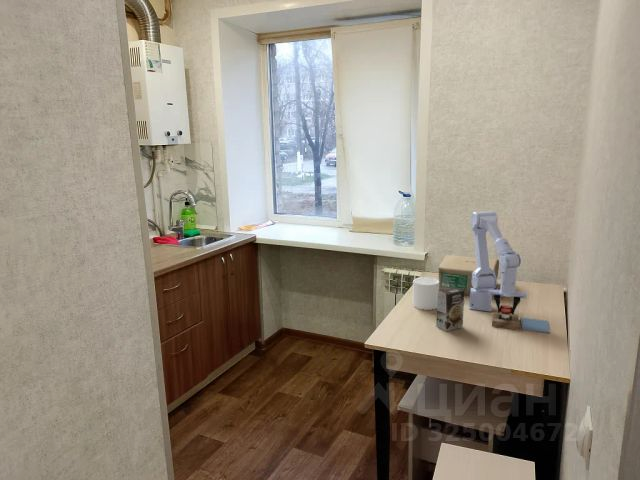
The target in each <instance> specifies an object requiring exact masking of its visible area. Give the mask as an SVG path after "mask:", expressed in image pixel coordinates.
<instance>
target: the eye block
mask: <svg viewBox="0 0 640 480" xmlns="http://www.w3.org/2000/svg"><path fill="white" fill-rule="evenodd" d="M501 318H502V313H501V312H500V313H498V311H492V318H491V327H495V328H502V329H503V328H504V329H510V330H519V329H520V326H519V325H520V317H519V314H516V313H514V315H512V313H511V314H510V315H509V320H502V319H501Z"/></svg>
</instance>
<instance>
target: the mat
mask: <svg viewBox="0 0 640 480" xmlns="http://www.w3.org/2000/svg"><path fill="white" fill-rule="evenodd" d="M520 319H521V330H522V331H529V332H534V333H535V332H536V333H543V334H544V333H545V334H550V328H549V323H548V320H545V319H536V318H528V317H520Z"/></svg>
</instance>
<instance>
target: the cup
mask: <svg viewBox="0 0 640 480" xmlns="http://www.w3.org/2000/svg"><path fill="white" fill-rule="evenodd" d="M438 280H439V279H437V278H435V277H432V276H431V277H429V276H421V277H420V276H419V277H415V278H414V279H413V281H412V306H413V307H414V308H415V307H416V309H417V310H422V309H424V311H432V309H433V310H435V309H436V310H437V302H438V290H439V281H438Z"/></svg>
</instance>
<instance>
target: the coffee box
mask: <svg viewBox="0 0 640 480" xmlns="http://www.w3.org/2000/svg"><path fill="white" fill-rule="evenodd" d="M464 294H465V291H464V290H462V289H459V288H456V287H450V288H446V289H441V290H438V302H437V308H436V322H435V326H436V327H437V328H439V329H441V330H442V331H444V332H450V331H453V330H456V329H461V328H463V324H464V323H463V322H464V307H465V306H464V305H465V295H464Z"/></svg>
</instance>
